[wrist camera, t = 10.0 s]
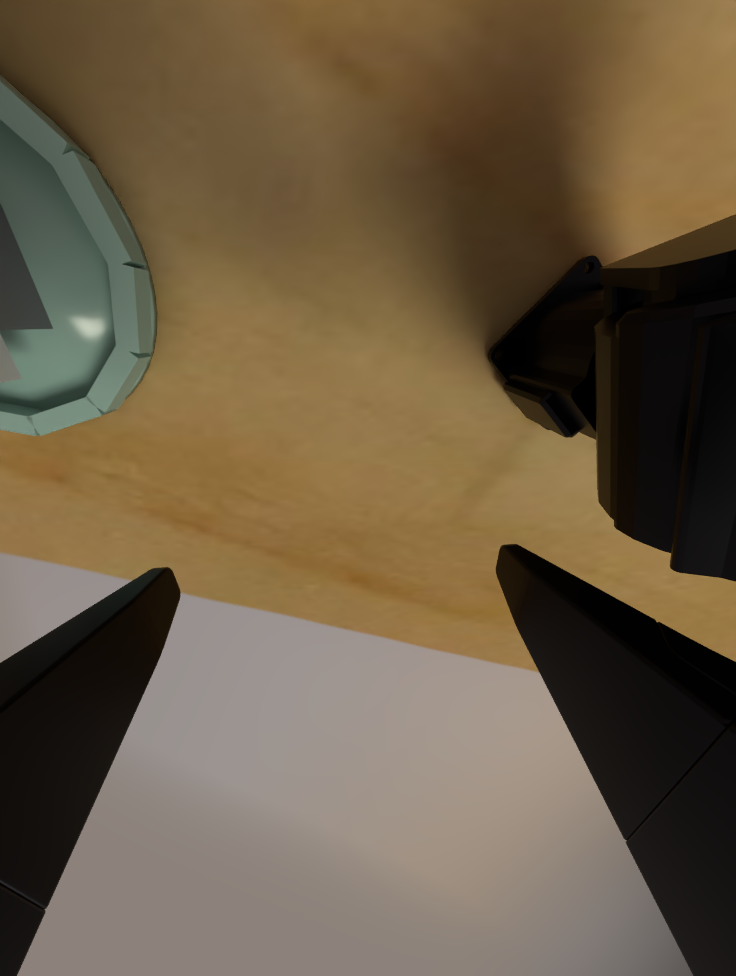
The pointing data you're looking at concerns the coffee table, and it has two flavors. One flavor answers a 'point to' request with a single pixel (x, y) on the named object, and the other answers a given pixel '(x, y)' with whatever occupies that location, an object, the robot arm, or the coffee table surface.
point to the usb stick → (16, 297)
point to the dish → (70, 279)
